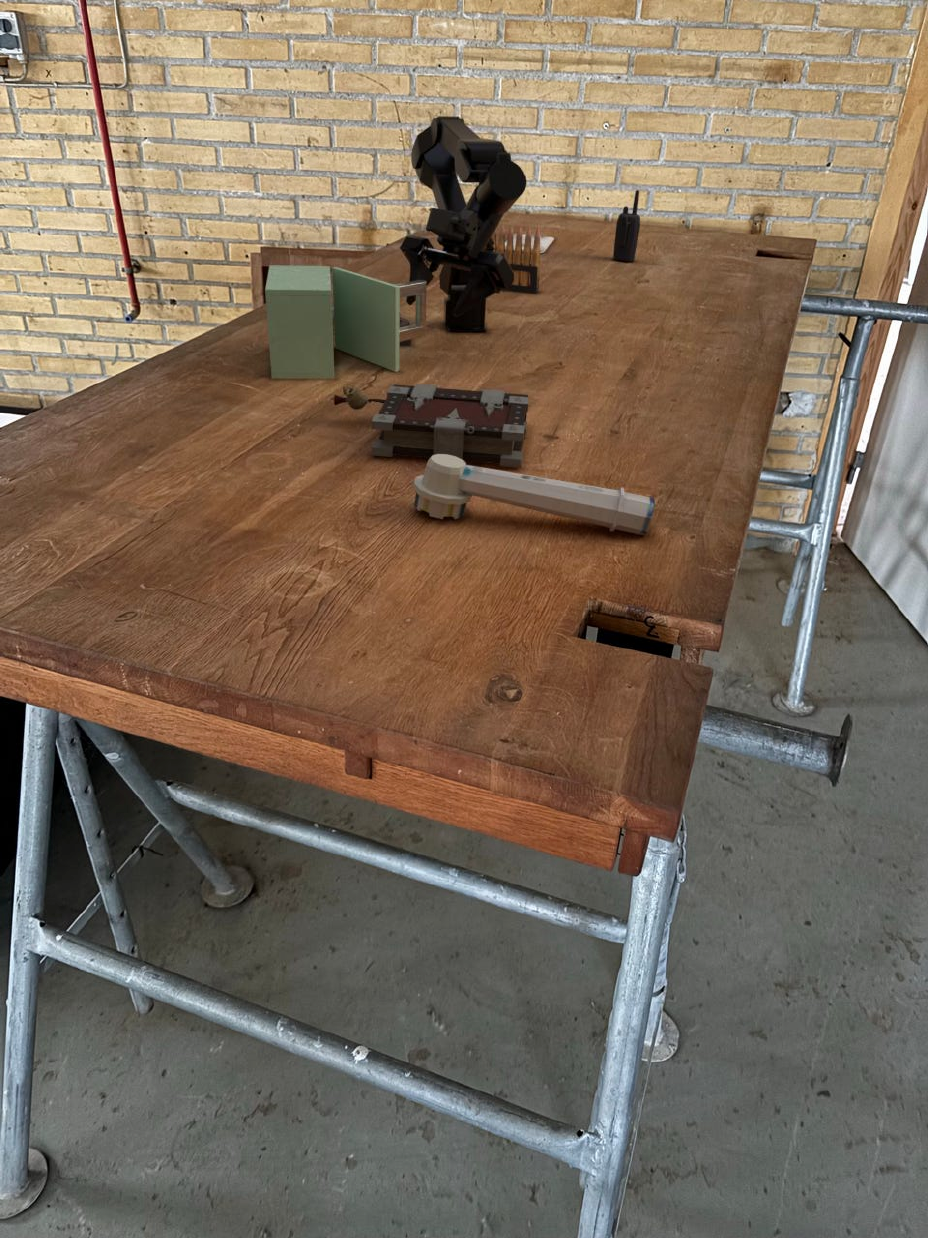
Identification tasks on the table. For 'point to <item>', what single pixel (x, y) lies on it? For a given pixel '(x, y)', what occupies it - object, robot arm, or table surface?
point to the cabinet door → (374, 316)
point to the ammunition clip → (518, 262)
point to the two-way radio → (627, 233)
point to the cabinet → (300, 322)
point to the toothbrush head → (527, 495)
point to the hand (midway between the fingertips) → (431, 308)
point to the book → (447, 422)
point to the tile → (544, 242)
